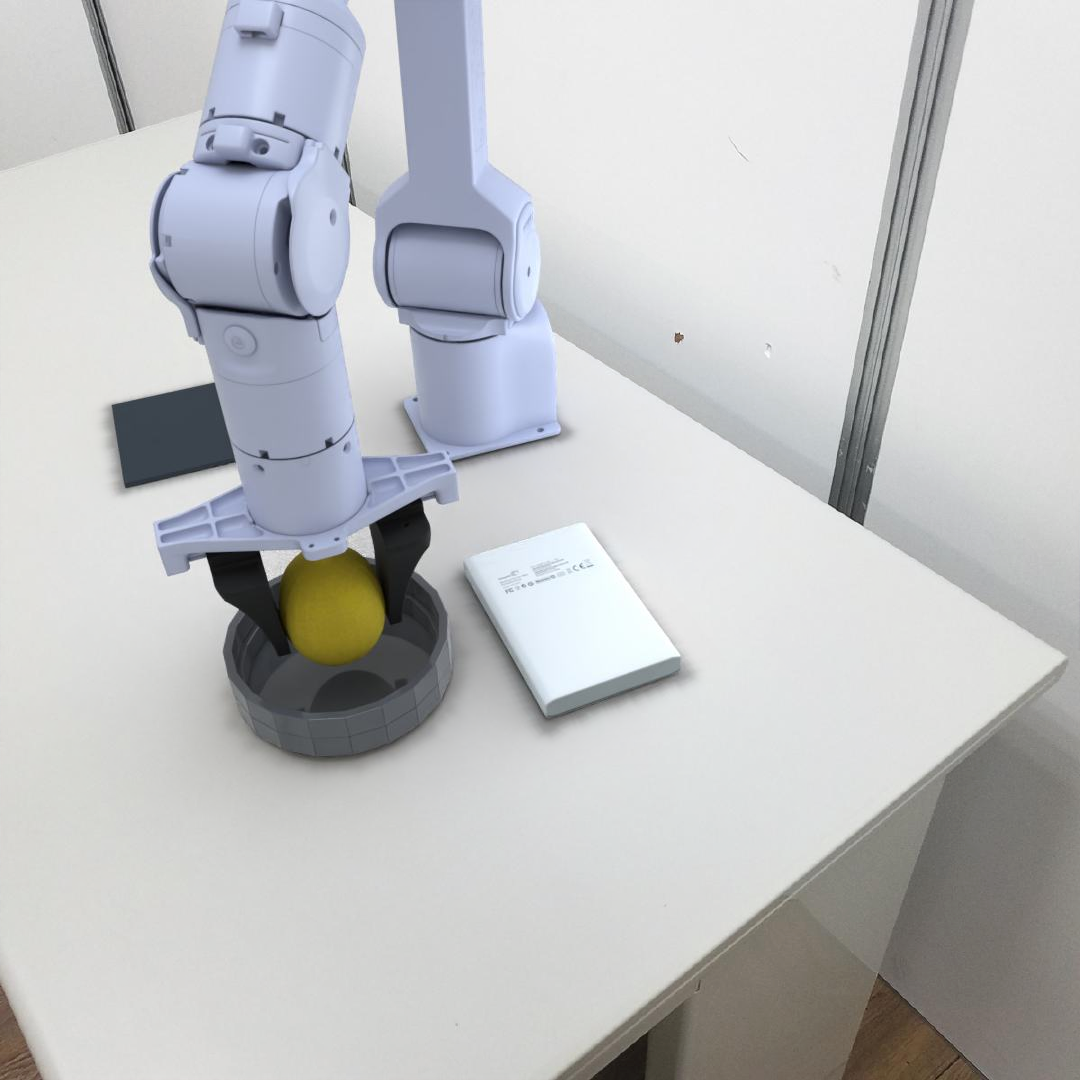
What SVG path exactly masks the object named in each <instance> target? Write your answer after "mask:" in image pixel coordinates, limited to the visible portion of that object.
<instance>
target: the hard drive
mask: <svg viewBox="0 0 1080 1080" xmlns="http://www.w3.org/2000/svg"><path fill="white" fill-rule="evenodd" d="M462 562H463V574H464V575H465V577H466V579H467V581H468V582H469V584H470V586H471V587H472V590H473V591H474V593H475V595H476V597H477V598H478V600H479V602H480V604H481V606H482V607H483V610H484V611H485V612H486V614H487V616H488V618H489V620H490V621H491V623H492V625H493V627H494V628H495V630H496V633H497V634H498V636H499V637H500V639H501V641H502V642H503V645H504V646H505V648H506V650H507V651H508V653H509V655H510V656H511V658H512V660H513V662H514V664H515V665H516V667H517V669H518V670H519V672H520V674H521V676H522V677H523V680H524V681H525V683H526V685H527V686H528V688H529V691H531V693H532V696H533V697H534V699H535V700H536V703H537V704H538V707H540V709H541V712H542V713H543V715H544V717H545V718H546V719H552V718H553V719H554V718H556V717H559V716H562V715H565V714H568V713H570V712H574V711H576V710H580V709H582V708H585V707H588V706H591V705H594V704H596V703H599V702H601V701H604V700H607V699H609V698H612V697H615V696H617V695H620V694H623V693H625V692H628V691H631V690H634V689H638V688H639V687H643V686H646V685H649V684H651V683H654V682H656V681H659V680H662V679H664V678H667V677H671V676H673V675H675V674H676V673H678V672H679V671H680V670H681V666H682V656H681V654H680V652H679V651H678V650H677V648H676V647H675V646H674V644H673V643H672V641H671V640H670V638H669V637H668V636H667V634H666V632H664V630H663V629H662V627H660V625H659V624H658V622H657V621H656V619H655V618H654V617H653V615H652V614H651V612H650V611H649V609H648V608H647V607H646V606H645V604H644V602H642V600H641V598H640V597H639V596H638V594H637V593H636V592H635V590H634V589H633V588H632V586H631V585H630V583H629V582H628V580H626V578H625V577H624V575H623V574H622V572H621V570H619V569H618V567H617V566H616V564H615V563H614V561H613V560H612V558H611V557H610V556H609V555H608V553H607V551H605V549H604V548H603V546H602V545H601V543H600V542H599V541H598V540H597V538H596V536H594V534H593V532H592V531H591V530H590V528H589V527H588V526H587V524H586V523H585V522H576V523H574V524H570V525H566V526H563V527H560V528H557V529H554V530H550V531H548V532H544V533H542V534H538V535H535V536H532V537H529V538H526V539H522V540H519V541H514V542H512V543H508V544H505V545H502V546H499V547H496V548H492V549H489V550H486V551H483V552H479V553H476V554H473V555H471V556H467V557H466V558H465V559H464V560H463V561H462Z"/></svg>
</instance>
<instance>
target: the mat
mask: <svg viewBox="0 0 1080 1080" xmlns="http://www.w3.org/2000/svg"><path fill="white" fill-rule="evenodd" d="M111 411H112V418H113V423H114V429H115V436H116V441H117V448H118V455H119V460H120V461H119V462H120V467H121V473H122V479H123V485H124V487H125V488H130V487H135V486H139V485H143V484H146V483H151V482H155V481H160V480H164V479H168V478H173V477H176V476H181V475H184V474H185V475H186V474H189V473H193V472H198V471H201V470H207V469H210V468H214V467H218V466H219V467H220V466H223V465H227V464H231V463H236V460H235V457H234V453H233V449H232V445H231V442H230V438H229V435H228V431H227V427H226V423H225V419H224V416H223V412H222V408H221V404H220V400H219V397H218V393H217V389H216V385H215V381H213V382H209V383H205V384H200V385H196V386H192V387H187V388H186V387H185V388H183V389H176V390H173V391H168V392H163V393H159V394H154V395H150V396H145V397H141V398H136V399H131V400H128V401H123V402H118V403H114V404H111Z"/></svg>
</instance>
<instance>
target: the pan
mask: <svg viewBox="0 0 1080 1080" xmlns="http://www.w3.org/2000/svg"><path fill="white" fill-rule="evenodd" d="M363 557H364V558H366V560H367V561H368V562H369V563H370V565H371V566H372V568H373V569H374V571H375V573H376V565H375V557H374V558H373V557H367V556H363ZM282 576H283V573H281V574H280V575H278V576H275V577H274V578H272V579H270V580H268V582H269V586H270V589H271V591H272V594H273V596H274V599H275V602H276V604H277V607H278V599H279V587H280V581H281V578H282ZM278 609H279V608H278ZM449 622H450V621H449V614H448V611H447V609H446V607H445V605H444V602H443V600H442V598H441V596H440V594H439V591H438V590H437V589H436V588H435V587H433V586H432V584H430V583H429V582H428V581H427V580H426V579H425V578H424V577H423V576H421V574H420V573H418V572H417V571H414V572H413V574H412V577H411V580H410V582H409V586H408V589H407V593H406V597H405V601H404V607H403V615H402V621H401V622H400V623H396V624H393V625H390V623H389V621H388V618H387V615H385V622H384V627H383V631H382V633H381V635H380V637H379V639H378V641H377V643H376V644H375V646H374V647H373V648H372V649H371V650H370V651H369V652H368V653H367V654H366V655H365V656H363V657H362V658H360V659H359V660H357V661H354V662H352V663H349V664H345V665H341V666H328V665H321V664H318V663H316V662H313V661H311V660H309V659H307V658H306V657H305V656H303V655H302V654H300V653H299V652H298V651H297V650H296V649H295V647H294V646H293V645H292V643H291V642H290V641H289V639H288V638H287V640H288V643H289V647H290V651H291V654H288V655H284V656H281V657H279V656H277V653H276V651H275V649H274V647H273V645H272V644H271V642H270V640H269V639H268V638H267V636H266V635H265V634H264V633H263V631H262V630H261V629H260V628H259V627H258V626H257V625H256V623H255V622H254V621H252V620H251V619H250V618H249V617H248V616H247V615H246V614H244V613H243V612H242V611H240V610H239V609H238V610H237V612H236V613H235V614H234V616H233V618H232V619H231V621H230V622H229V624H228V626H227V629H226V634H225V639H224V644H223V647H222V656H223V660H224V665H225V669H226V673H227V678H228V681H229V684H230V687H231V690H232V693H233V695H234V700H235V703H236V705H237V708H238V712H239V714H240V715H241V716H242V717H243V719H244V720H245V721H246V722H247V724H248V725H249V727H250V728H251V729H252V730H253V732H254V733H255V734H256V735H258V736H259V737H261V738H263V739H264V740H266V741H268V742H269V743H271V744H273V745H274V746H276V747H277V748H280V749H282V750H284V751H289V752H294V753H298V754H302V755H307V756H311V757H344V756H352V755H358V754H361V753H365V752H369V751H372V750H374V749H378V748H380V747H384V746H386V745H388V744H390V743H392V742H394V741H395V740H397V739H399V738H401V737H402V736H405V735H406V734H407V733H410V731H411V730H414V729H415V728H416V727H418V726H420V724H422V722H423V721H424V720H425V719H426V718H427V717H428V716H429V715H430V714H431V713H432V712H433V710H434V709H435V708H436V707H438V705H439V704H440V702H441V701H442V699H443V696H444V694H445V691H446V689H447V687H448V685H449V683H450V681H451V678H452V674H453V673H452V672H453V671H452V670H453V647H452V638H451V631H450V629H451V628H450V623H449Z"/></svg>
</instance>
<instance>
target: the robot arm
mask: <svg viewBox="0 0 1080 1080" xmlns="http://www.w3.org/2000/svg"><path fill="white" fill-rule="evenodd" d="M349 1H350V0H227V5H226V7H225V11H224V16H223V20H222V24H221V28H220V33H219V38H218V41H217V46H216V51H215V55H214V60H213V63H212V67H211V68H212V69H211V74H210V77H209V82H208V86H207V90H206V96H205V98H204V103H203V107H202V112H201V117H200V121H199V126H198V131H197V135H196V140H195V143H194V148H193V151H192V152H193V153H192V160H188V161H187V162H185V163H184V164H183V165H182V166H180V167H179V170H177V171H174V172H171V173H169V174H168V175H167V176H166V177H165V178H164V179H163V181H162V182H161V183H160V185H159V186H158V188H157V189H156V193H155V195H154V198H153V201H152V205H151V210H150V217H149V243H150V250H151V258H150V260H149V262H148V267H149V271H150V273H151V276H152V278H153V281H154V283H155V284H156V286H157V288H158V290H159V291H160V293H161V294H162V295H163V296H164V297H165V298H166V299H167V300H168V301H169V302H170V303H172V304H173V305H175V306H176V307H177V309H178V310H179V311H180V313H181V316H182V319H183V323H184V326H185V329H186V333H187V336H188V337H189V338H192V340H193V341H194V342H197V343H198V344H199V345H201V346H204V348H205V352H206V355H207V359H208V363H209V366H210V369H211V374H212V377H213V382H215V385H216V389H217V393H218V397H219V400H220V404H221V408H222V412H223V416H224V419H225V423H226V427H227V431H228V435H229V438H230V442H231V445H232V449H233V453H234V457H235V460H236V462H235V464H236V468H237V471H238V475H239V479H240V483H241V484H239V485H237V486H235V487H233V488H231V489H229V490H226V491H225V492H223V493H221V494H219V495H217V496H215V497H212V498H210V499H209V500H206V501H205V502H202V503H200V504H198V505H196V506H194V507H192V508H190V509H188V510H185V511H183V512H181V513H178V514H175V515H172V516H169V517H166V518H163V519H159V520H155V521H153V522H152V526H153V531H154V536H155V537H154V538H155V542H156V548H157V550H158V552H159V556H160V559H161V562H162V564H163V568H164V570H165V574H166V576H167V577H171V576H176V575H180V574H183V573H187V572H188V571H190V569H191V565H190V562H195V561H199V560H203V559H206V560H207V564H208V566H209V567H208V568H209V571H210V573H211V579H212V582H213V587H214V588H215V590H216V592H217V594H218V595H219V596H220V597H221V599H222V600H223V602H225V603H226V604H229V605H231V606H233V607H235V608H236V609H238V610H240V611H242V612H243V613H244V614H246V615H247V616H248V617H249V618H250V619H251V620H252V621H254V622H255V623H256V625H257V626H258V627H259V628H260V629H261V630H262V631H263V633H264V634H265V635H266V636H267V638H268V639H269V640H270V642H271V644H272V645H273V647H274V649H275V651H276V653H277V656H279V657H281V656H284V655H288V654H291V651H290V647H289V643H288V640H287V636H286V633H285V631H284V628H283V625H282V622H281V619H280V615H279V609H278V607H277V604H276V602H275V599H274V596H273V594H272V591H271V589H270V586H269V582H268V581H269V579H268V576H267V572H266V568H265V565H264V562H263V557H262V555H261V552H264V551H265V552H266V551H301V552H302V553H303V556H304V558H305V559H306V560H309V561H317V560H320V559H324V558H328V557H332V556H335V555H339V554H341V553H344V552H345V551H346V550H347V549H348V547H349V546H348V544H349V543H348V540H347V538H348V537H351V536H352V535H354V534H355V533H357V532H359V531H361V530H363V529H365V528H367V527H369V533H370V536H371V541H372V546H373V552H374V553H373V555H374V559H375V565H376V575H377V576H378V578H379V580H380V583H381V586H382V589H383V593H384V598H385V605H386V615H387V618H388V621H389V623H390V625H393V624H396V623H400V622H401V621H402V615H403V607H404V601H405V597H406V593H407V589H408V586H409V582H410V580H411V577H412V574H413V572H415V570H416V567H417V566H418V564H419V562H420V560H421V559H422V557H423V556H424V554H425V553H426V551H427V550H428V549H429V548H430V545H431V540H432V529H431V523H430V521H429V519H428V517H427V515H426V513H425V508H424V502H427V501H430V500H434V499H435V501H436V503H437V504H438V505H447V504H452V503H456V502H459V501H460V494H459V483H458V474H457V470H456V467H455V466H454V463H453V461H457V460H460V459H464V458H469V457H473V456H476V455H480V454H485V453H488V452H493V451H497V450H501V449H504V448H509V447H512V446H517V445H520V444H521V445H522V444H525V443H529V442H533V441H538V440H541V439H545V438H549V437H553V436H556V435H559V434H560V433H561V431H562V427H561V425H560V423H559V421H558V413H557V412H558V409H557V408H558V406H557V403H558V402H557V401H558V399H557V355H556V354H557V353H556V344H555V337H554V333H553V329H552V324H551V321H550V318H549V316H548V313H547V310H546V309H545V306H544V305H543V303H542V301H541V300H540V299H539V298H538V297H537V294H538V290H539V284H540V277H541V268H542V267H541V266H542V265H541V263H542V251H541V250H542V249H541V241H540V236H539V233H538V231H537V225H536V212H535V211H536V209H535V205H534V204H533V196H532V195H531V194H530V193H529V192H528V191H527V190H526V189H525V188H523V187H522V186H521V185H520V184H518V183H517V182H516V181H514V180H513V179H512V178H510V177H508V176H507V175H506V174H505V173H503V172H502V171H500V170H499V169H498V168H496V167H495V166H494V165H492V163H491V162H489V151H488V150H489V149H488V129H487V128H488V127H487V124H488V123H487V102H486V77H485V75H486V74H485V73H486V72H485V53H484V29H483V28H484V26H483V4H482V3H483V2H482V0H393V8H394V18H395V29H396V41H397V53H398V65H399V77H400V87H401V98H402V99H401V100H402V111H403V120H404V121H403V122H404V132H405V133H404V134H405V143H406V144H405V145H406V155H407V156H406V157H407V167H408V168H407V169H408V170H407V171H406V172H405V173H403V174H402V175H400V176H399V177H398V178H396V179H395V180H394V181H393V182H392V183H390V184H389V185H388V186H387V187H386V188H385V190H384V191H383V193H381V195H380V198H379V199H378V202H377V205H376V206H375V210H374V229H375V230H374V232H375V233H374V243H373V250H372V251H373V252H372V276H373V281H374V287H375V288H376V291H377V293H378V295H379V296H380V298H381V300H382V302H383V303H384V304H385V305H386V307H389V308H393V309H397V315H398V316H397V317H398V323H399V324H401V325H406V326H408V329H409V338H410V348H411V355H412V364H413V371H414V380H415V387H416V388H415V389H416V395H415V396H411V397H406V398H405V399H404V400H403V401H402V402H403V407H404V409H405V412H406V413H407V416H408V418H409V419H410V421H411V424H412V425H413V428H414V429H415V432H416V433H417V435H418V438H419V439H420V441H421V444H422V445H423V447H424V449H425V451H426V453H425V452H424V453H419V454H402V455H401V454H400V455H396V454H395V455H367V456H363V455H362V452H361V446H360V440H359V434H358V429H357V423H356V417H355V410H354V405H353V399H352V392H351V387H350V381H349V375H348V369H347V363H346V357H345V351H344V346H343V340H342V334H341V333H342V332H341V328H340V321H339V316H338V311H337V305H336V304H337V303H336V302H337V300H338V298H339V296H340V293H341V291H342V288H343V285H344V282H345V278H346V273H347V271H348V267H349V262H350V253H351V226H350V224H351V223H350V214H349V206H350V205H349V204H350V203H349V202H350V197H351V188H350V185H351V177H350V175H349V174H348V173H347V171H346V170H345V169H344V167H343V165H342V164H343V159H344V154H345V150H346V144H347V140H348V135H349V130H350V125H351V120H352V116H353V110H354V106H355V101H356V96H357V92H358V87H359V81H360V79H361V78H360V77H361V72H362V68H363V63H364V58H365V54H366V48H367V41H366V37H365V36H366V35H365V33H364V31H363V27H362V26H361V25H360V22H359V21H358V20H357V18H356V16H355V15H354V14H353V13H352V11H351V9H350V8H349V7H348V4H349Z"/></svg>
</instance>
